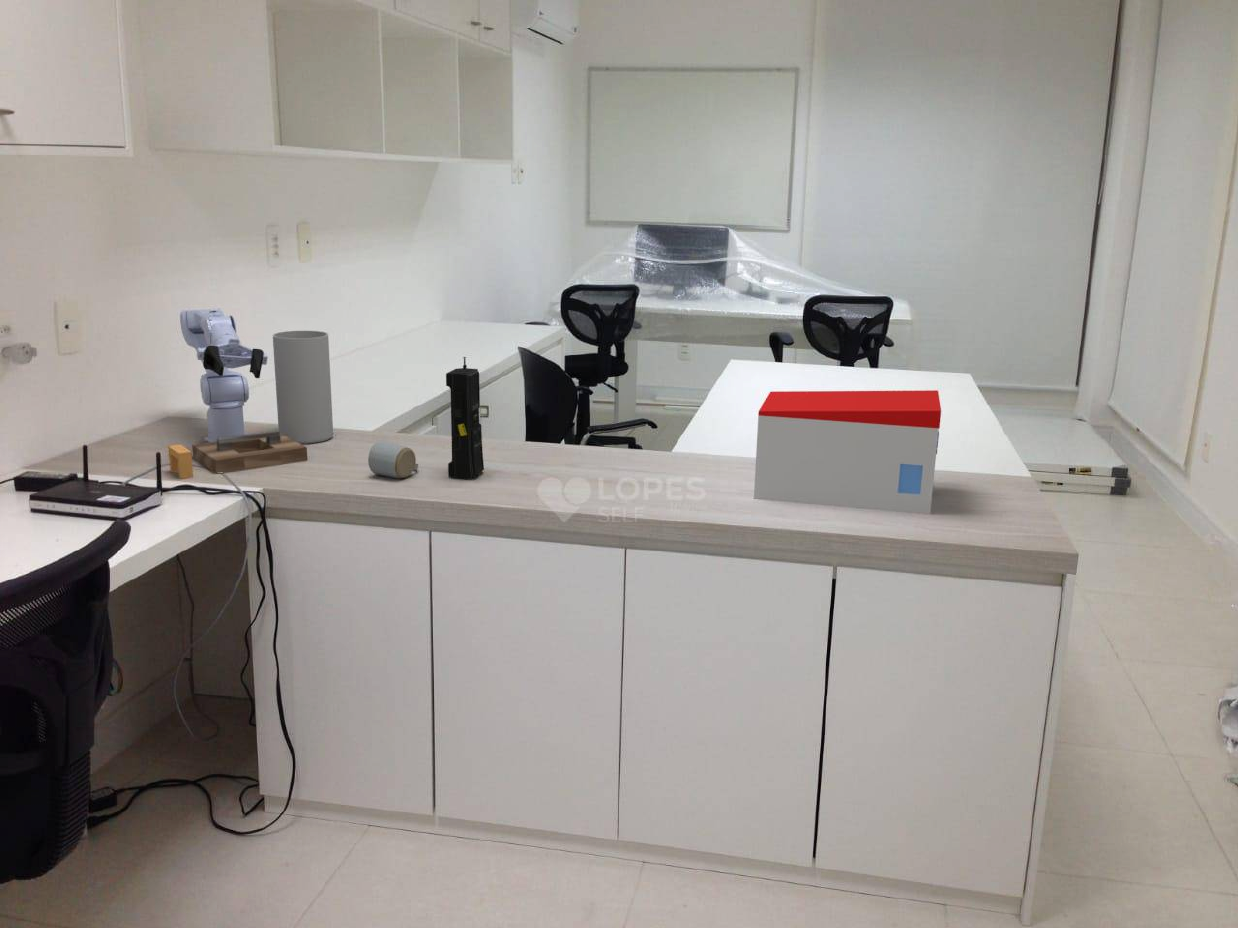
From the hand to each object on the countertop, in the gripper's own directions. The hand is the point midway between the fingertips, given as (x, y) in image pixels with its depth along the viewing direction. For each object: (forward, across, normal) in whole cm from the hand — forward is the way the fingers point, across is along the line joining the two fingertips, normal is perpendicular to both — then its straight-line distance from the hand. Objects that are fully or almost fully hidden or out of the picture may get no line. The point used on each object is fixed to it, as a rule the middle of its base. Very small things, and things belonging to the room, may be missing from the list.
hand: (240, 372), depth 234 cm
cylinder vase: (-12, +21, +22) cm, 32 cm away
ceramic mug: (+26, +29, +10) cm, 40 cm away
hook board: (+2, +5, +20) cm, 21 cm away
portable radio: (+33, +41, +5) cm, 53 cm away
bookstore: (+76, +105, -17) cm, 130 cm away
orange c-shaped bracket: (+8, -10, +21) cm, 25 cm away
